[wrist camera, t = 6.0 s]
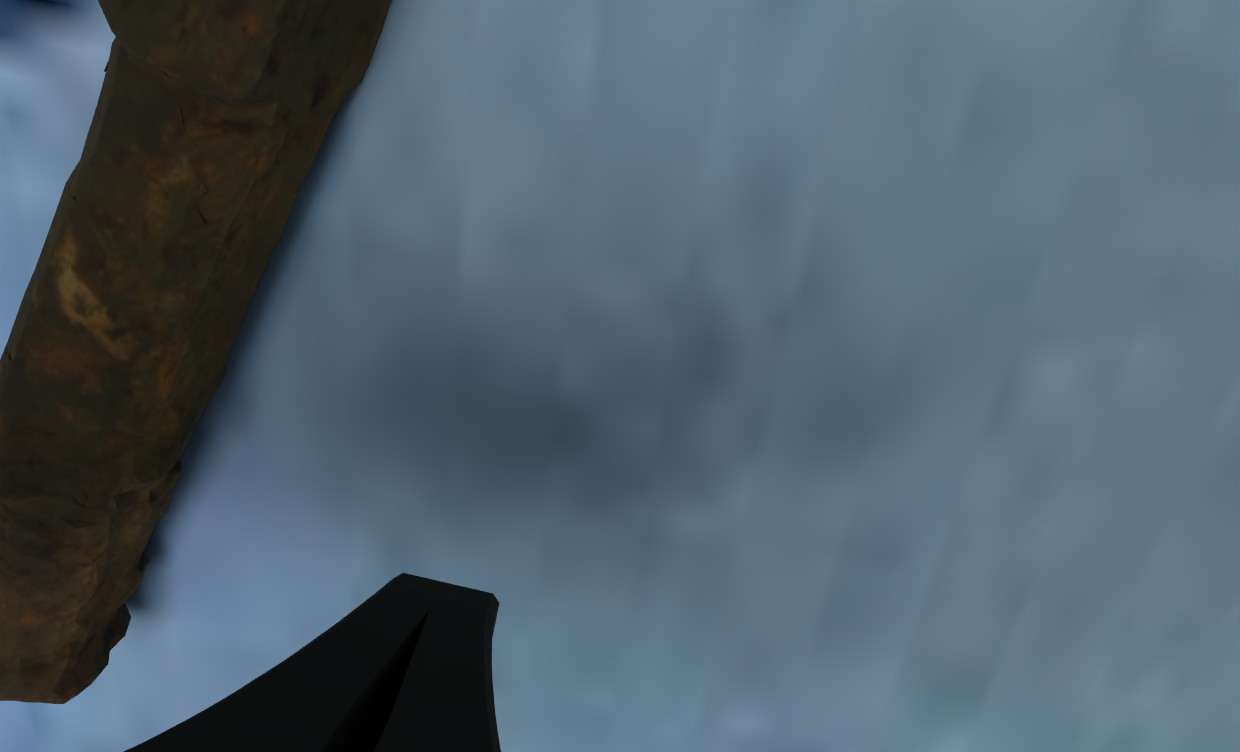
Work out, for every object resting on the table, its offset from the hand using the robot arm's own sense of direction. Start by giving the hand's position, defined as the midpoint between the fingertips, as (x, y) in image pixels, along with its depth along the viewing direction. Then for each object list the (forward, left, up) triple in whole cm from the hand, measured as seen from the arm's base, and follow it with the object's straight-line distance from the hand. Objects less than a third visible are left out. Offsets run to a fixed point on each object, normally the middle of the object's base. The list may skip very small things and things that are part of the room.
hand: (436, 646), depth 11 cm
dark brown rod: (+7, -3, -7) cm, 11 cm away
